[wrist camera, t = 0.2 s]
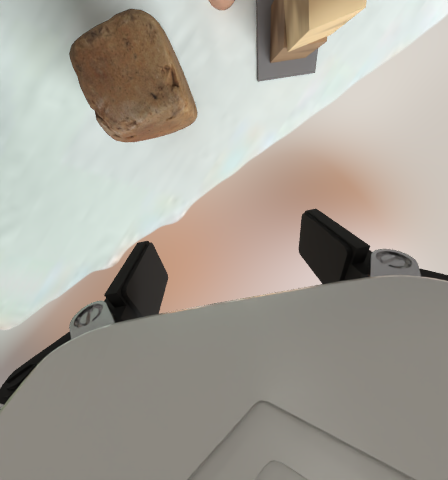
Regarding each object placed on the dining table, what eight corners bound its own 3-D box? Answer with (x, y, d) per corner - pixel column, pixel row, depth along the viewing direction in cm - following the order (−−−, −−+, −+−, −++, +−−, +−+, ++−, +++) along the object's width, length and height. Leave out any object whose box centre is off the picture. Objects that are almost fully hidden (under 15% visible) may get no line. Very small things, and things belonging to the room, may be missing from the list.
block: (184, 70, 28) (150, -21, 11) (201, 122, 32) (195, 111, 15) (127, 96, 29) (19, 48, 13) (150, 143, 33) (93, 154, 17)
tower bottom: (270, 6, 25) (286, -26, 20) (310, 0, 25) (336, -34, 20) (269, 63, 28) (283, 47, 23) (305, 57, 28) (326, 41, 23)
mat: (256, -12, 24) (257, -14, 24) (325, -23, 24) (326, -25, 24) (257, 81, 30) (258, 80, 29) (313, 72, 30) (315, 72, 29)
